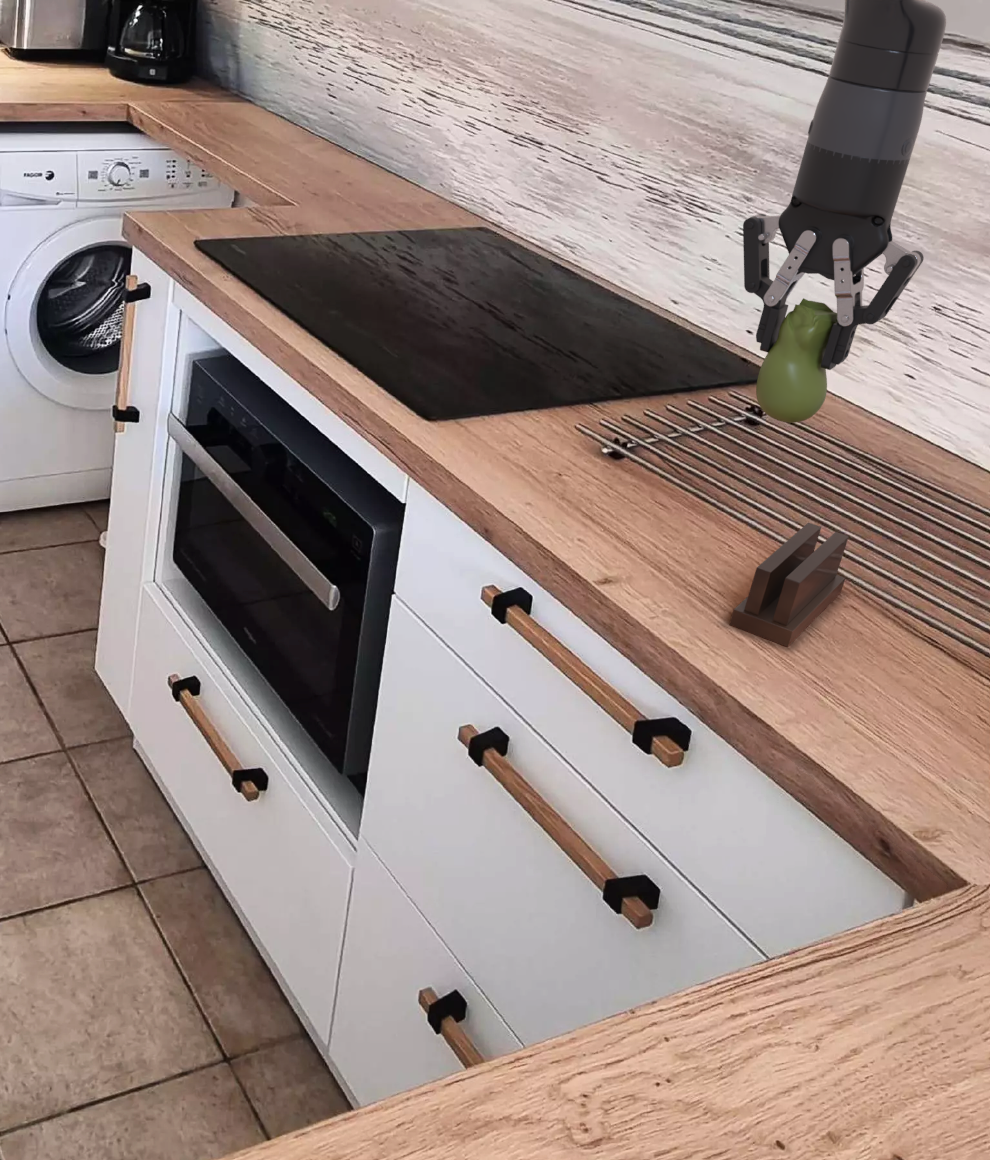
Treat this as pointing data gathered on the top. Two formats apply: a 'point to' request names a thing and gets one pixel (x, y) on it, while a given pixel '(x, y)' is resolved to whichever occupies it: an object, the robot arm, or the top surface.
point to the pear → (797, 364)
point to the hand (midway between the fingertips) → (797, 357)
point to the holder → (792, 587)
